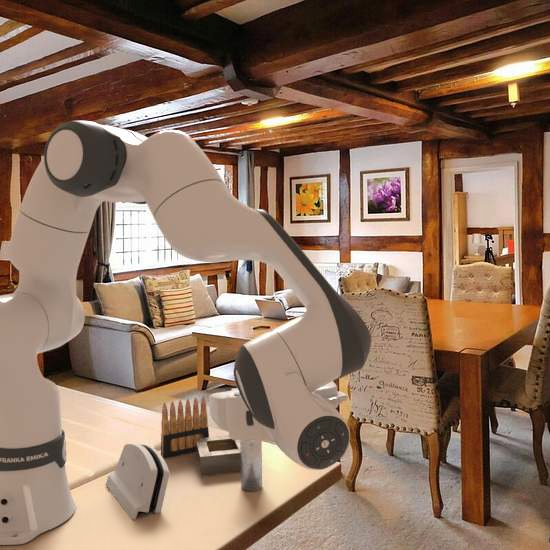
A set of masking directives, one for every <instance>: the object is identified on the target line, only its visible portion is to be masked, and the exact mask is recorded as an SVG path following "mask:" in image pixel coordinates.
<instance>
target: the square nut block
mask: <svg viewBox="0 0 550 550" xmlns="http://www.w3.org/2000/svg"><path fill="white" fill-rule="evenodd" d="M195 458H196V462H197V466H198V471H199V475H200V477H207V476H216V475H217V474H218V475H225V474H232V473H233V474H236V473H241V444H240V440H232V439H231V438H230V436H229V434H228V435H219V436H209V437H207V438H201V437H200V438H197V439H196V452H195Z"/></svg>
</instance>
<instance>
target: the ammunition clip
mask: <svg viewBox="0 0 550 550" xmlns="http://www.w3.org/2000/svg"><path fill="white" fill-rule="evenodd" d="M200 400H201V401H200V408H199V402H198V401H199V400H198V398H197V397H194V399H193V404H192V407H191V403H190V400H189V398H187V399H186V401H185V412H184V407H183V403H182V402H183V401H182V400H181V399H179V401H178V404H177V414H176V406H175V402H174V400H172V401H171V403H170V407H169V411H168V406H167V404H166V402H163V404H162V409H161V421H160V423H161V425H160V426H161V427H160V428H161V434H160V436H161V437H160V440H161V441H160V454H161V456H162V457H163V459H164V460H165V459H168V458H169V459H170V458H174V457H179V456H185V455H189V454H192V453H193V454H194V453H196V439H197V438H207V437H210V433H209V427H208V426H209V425H208V424H209V422H208V412H207V403H206V402H207V401H206V398H205V396H202V397H201V399H200ZM191 408H192V410H191ZM199 409H200V410H199ZM168 412H169V414H168ZM184 413H185V414H184Z"/></svg>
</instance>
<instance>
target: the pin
mask: <svg viewBox="0 0 550 550" xmlns="http://www.w3.org/2000/svg"><path fill="white" fill-rule="evenodd" d="M262 442H263V440H240V444H241V472H240V486H241V487H240V488H241V490H243V491H244V492H249V493H255V492H257V491H260V490H262V488H263V455H262V454H263V453H262V452H263V451H262V449H263V448H262V446H263V445H262Z"/></svg>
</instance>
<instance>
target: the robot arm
mask: <svg viewBox="0 0 550 550" xmlns="http://www.w3.org/2000/svg"><path fill="white" fill-rule="evenodd" d="M217 170H218V169H217V168H216V167H215V166H214V164H213V163H212V161H211V160H210V159H209V157H208V156H207V154H206V153H205V152H204V150H202V148H201V147H200V146H199V144H198V143H197V142H196V141H195V140H194V139H193V138H192V137H191V136H190V135H188V134H187V133H185V132H184V131H181V130H176V129H167V130H162V131H159V132H155V133H154V134H152V135H150V136H148V137H147V136H145V135H142V134H141V133H138V132H136V131H133V130H130V129H128V128H127V129H126V128H122V127H119V128H118V127H115V126H109V125H102V124H99V123H97V122H94V121H89V120H70V121H65V122H63V123H61V124H59V125H58V126H57V127H55V128H54V130H52V132H51V133H50V135H49V136H48V139H47V140H46V143H45V148H44V153H43V157H42V159H41V160H40V162H39V164H38V166H37V167H36V169H35V171H34V172H33V175H32V177H31V179H30V182H29V184H28V186H27V188H26V190H25V193H24V195H23V198H22V201H21V205H20V208H19V210H18V213H17V217H16V219H15V223H14V226H13V229H12V230H13V231H12V233H11V235H10V236H11V237H10V238H9V239H10V240H9V242H8V246H7V249H6V250H7V251H6V253H7V257H8V259H9V261H10V263H11V264H12V265H13V267H15V269H16V270H17V271H18V273H19V277H18V279H19V280H18V285H17V287H16V289H15V290H14V291H13V293H8V294H7V293H6V294H2V295H0V546H6V545H7V546H9V545H13V546H15V545H23V544H27V543H28V542H30V541H32V540H33V539H35V538H37V537H38V536H39V535H41V534H43V533H45V532H47V531H50V530H52V529H54V528H56V527H58V526H61V524H64V523H65V522H66V521H67V520H69V519H70V518H71V517H72V516H73V515H74V513H75V511H76V509H77V508H76V507H77V505H76V502H75V500H74V498H73V495H72V492H71V488H70V484H69V480H68V474H67V471H66V463H67V458H68V457H67V441H66V440H67V439H66V437H65V436H66V435H65V431H64V429H63V426H62V410H61V409H62V408H61V407H62V406H61V392H60V389H59V387H58V385H57V384H56V383H55V382H54V381H52V380H50V379H48V378H47V377H44V376H43V374H42V372H41V369H40V367H39V364H38V363H39V362H38V354H42V353H45V352H47V351H50V350H51V351H52V350H54V349H57V348H60V347H62V346H64V345H65V344H66V343H68V342H69V341H71V340H72V339H74V338H76V337H77V336H78V335H79V334H80V333H81V332H82V330H83V327H84V326H85V325H84V324H85V322H86V321H85V320H86V314H85V308H84V306H83V303H82V302H81V299H79V297H78V296H77V275H78V270H79V266H80V262H81V259H82V256H83V252H84V249H85V246H86V243H87V240H88V239H89V235H90V231H91V229H92V226H93V221H94V219H95V215H96V213H97V210H98V208H99V206H100V205H101V204H102V203H104V202H107V203H108V202H109V203H128V204H129V203H131V204H138V205H147V207H148V209H149V211H150V213H151V215H152V217H153V219H154V222H155V223H156V225H157V227H158V229H159V230H160V232H161V233H162V236H163V237H164V238H165V240H166V242H167V243H168V244H169V246H170V247H171V248H172V250H174V251H175V252H176V253H177V254H179V255H180V256H182V257H185V258H187V259H190V260H193V261H195V262H196V261H197V262H204V263H221V262H232V261H253V262H254V261H255V262H260V263H263V264H265V265H268V266H269V267H270V268H272V269H273V270H274V271H275V272H276V273H277V274H278V275H279V276H280V278H281V279H282V280H283V281H284V282H285V284H286V285H287V287H289V290H290V291H291V292H292V293H293V294H294V295H295V297H296V298H297V299H298V300H299V301H300V302H301V304H302V305H303V306H304V307H305V309H306V310H305V312H304V313H302V314H300V315H298V316H297V317H295V318H293V319H291V320H289V321H287V322H285V323H284V324H281V325H279V326H277V327H275V328H273V329H270V330H268V331H265V332H263V333H262V334H260V335H258V336H256V337H254V338H253V339H251V340H247V342H245V343H244V344H241V345H240V347H239V349H238V351H237V352H236V357H235V362H234V367H233V376H234V382H235V384H236V388H231V389H230V390H227V391H220V392H214V393H211V394H209V397H208V402H209V403H208V406H209V407H208V408H209V414H210V417H211V420H212V421H213V422H214V424H216V426H217V427H218V428H220V430H224V431H225V432H226V431H227V432H228V435H229V436H230V438H231V439H232V440H262V442H264V441H265V442H270V443H275V444H276V446H277V447H278V448H279V450H280V451H281V452H282V454H284V455H285V456H287V457H288V459H290V460H291V461H293V462H294V464H297V465H299V467H302V468H304V469H307V470H310V471H311V470H312V471H320V470H321V471H322V470H325V469H327V468H330V467H331V466H334V465H335V464H336V463H337V462H339V461H340V460H341V459H342V457H343V456H344V455H345V453H346V452H347V450H348V447H349V444H350V442H351V441H350V440H351V431H350V428H349V425H348V422H347V421H346V419H345V418H344V417H343V415H342V414H341V413H340V412H339V411H338V409H337V408H338V407H339V405H340V404H342V402H344V401H347V400H348V396H347V394H346V393H345V392H343V391H340V390H339V391H338V386H337V384H336V383H335V380H337V379H342V378H344V377H346V376H349V375H351V374H353V373H355V372H357V371H360V370H362V369H363V368H364V366H365V365H366V362H367V359H368V358H369V355H370V351H371V347H372V339H373V338H372V335H371V333H370V330H369V328H368V326H367V324H366V322H365V321H364V319H363V318H362V317H361V315H360V314H359V313H358V312H357V310H355V308H353V306H352V305H351V304H350V303H349V302H348V301H346V300H345V298H343V297H342V296H341V295H340V293H338V292H337V291H336V290H335V289H334V287H333V286H332V285H331V284H330V282H329V281H328V280H327V279H326V278H325V277H324V276H323V274H322V273H321V272H320V271H319V269H318V268H317V267H316V266H315V264H314V263H313V262H312V261H311V259H310V258H309V257H308V256H307V255H306V253H305V252H304V251H303V250H302V249H301V247H300V246H299V245H298V244H297V242H296V241H295V240H294V239H293V237H291V235H290V234H289V233H288V232H287V231H286V229H284V227H283V226H282V225H281V224H280V223H279V222H278V221H277V220H276V218H274V217H273V216H272V215H271V214H270V213H269V212H267V211H266V210H265V209H261V208H260V209H259V208H252V207H250V206H249V205H246V204H245V203H243V202H242V201H240V200H239V199H237V198H236V197H235V195H233V193H232V192H231V191H230V190H229V189H228V187H227V186H226V184H225V182H224V181H223V178H222V177H221V175H220V173H219V172H218V171H217Z"/></svg>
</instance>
